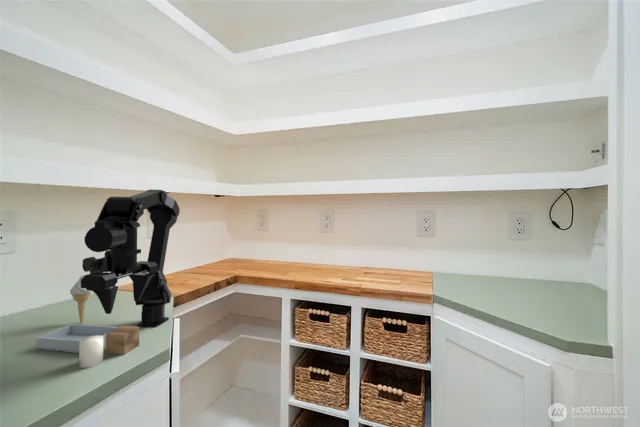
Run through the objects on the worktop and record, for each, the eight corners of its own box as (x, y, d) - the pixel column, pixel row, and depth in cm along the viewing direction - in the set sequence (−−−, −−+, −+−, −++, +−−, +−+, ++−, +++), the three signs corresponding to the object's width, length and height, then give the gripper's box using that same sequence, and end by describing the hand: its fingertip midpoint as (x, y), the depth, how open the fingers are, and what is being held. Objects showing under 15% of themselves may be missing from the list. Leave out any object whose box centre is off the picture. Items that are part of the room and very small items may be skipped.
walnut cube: (121, 344, 77) (121, 325, 77) (139, 345, 77) (139, 326, 77) (105, 353, 72) (106, 333, 72) (124, 355, 72) (124, 334, 72)
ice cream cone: (97, 319, 93) (97, 272, 93) (83, 326, 88) (84, 276, 87) (79, 319, 93) (79, 272, 93) (64, 326, 87) (64, 276, 87)
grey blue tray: (71, 334, 82) (71, 323, 82) (120, 338, 81) (120, 327, 81) (37, 349, 73) (37, 337, 73) (91, 354, 72) (91, 342, 72)
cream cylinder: (91, 357, 70) (91, 334, 70) (108, 358, 70) (108, 336, 70) (74, 367, 66) (74, 343, 66) (91, 368, 65) (91, 344, 65)
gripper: (123, 240, 84) (123, 294, 85) (58, 250, 66) (58, 319, 66) (159, 242, 83) (158, 296, 83) (103, 252, 65) (103, 322, 65)
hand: (123, 307), depth 74 cm, fingers open, 9 cm apart
